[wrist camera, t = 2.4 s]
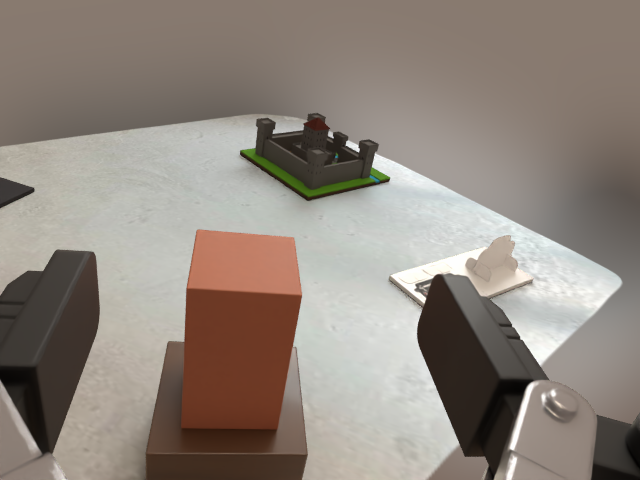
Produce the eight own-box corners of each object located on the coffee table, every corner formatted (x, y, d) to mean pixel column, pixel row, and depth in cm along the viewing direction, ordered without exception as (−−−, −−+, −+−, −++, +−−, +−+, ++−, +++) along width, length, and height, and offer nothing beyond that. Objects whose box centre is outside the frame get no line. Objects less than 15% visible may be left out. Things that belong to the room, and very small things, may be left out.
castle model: (240, 154, 72) (244, 101, 68) (320, 142, 81) (328, 95, 77) (307, 200, 63) (317, 142, 59) (389, 181, 72) (402, 130, 68)
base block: (294, 512, 29) (308, 455, 26) (146, 514, 27) (145, 454, 25) (286, 400, 36) (296, 346, 33) (166, 397, 34) (167, 340, 32)
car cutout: (483, 249, 59) (496, 215, 57) (532, 281, 55) (548, 245, 53) (388, 278, 51) (399, 240, 49) (437, 318, 46) (451, 278, 44)
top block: (277, 430, 27) (302, 295, 23) (180, 428, 26) (186, 288, 22) (274, 362, 32) (294, 236, 27) (190, 358, 31) (196, 228, 26)
